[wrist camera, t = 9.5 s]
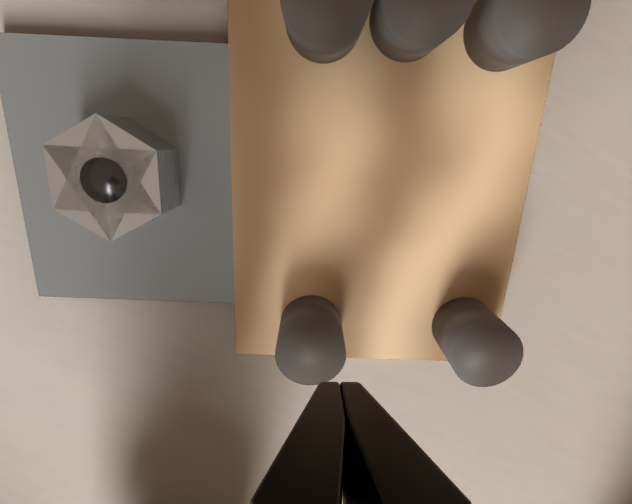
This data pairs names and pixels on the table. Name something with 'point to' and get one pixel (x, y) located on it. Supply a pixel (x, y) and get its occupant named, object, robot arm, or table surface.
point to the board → (384, 176)
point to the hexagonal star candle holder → (112, 175)
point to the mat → (156, 116)
